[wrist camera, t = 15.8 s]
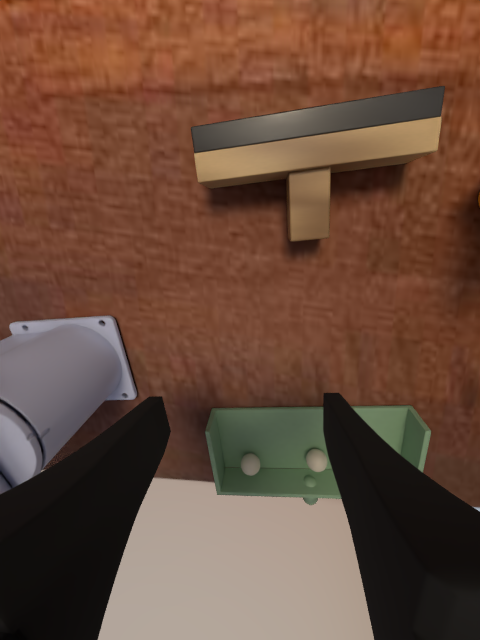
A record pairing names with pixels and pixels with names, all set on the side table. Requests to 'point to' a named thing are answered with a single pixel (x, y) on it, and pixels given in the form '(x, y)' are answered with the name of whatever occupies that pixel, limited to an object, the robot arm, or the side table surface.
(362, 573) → the robot arm
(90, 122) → the side table surface
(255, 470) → the crumb
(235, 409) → the dustpan
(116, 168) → the side table surface
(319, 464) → the crumb
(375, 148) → the brush
